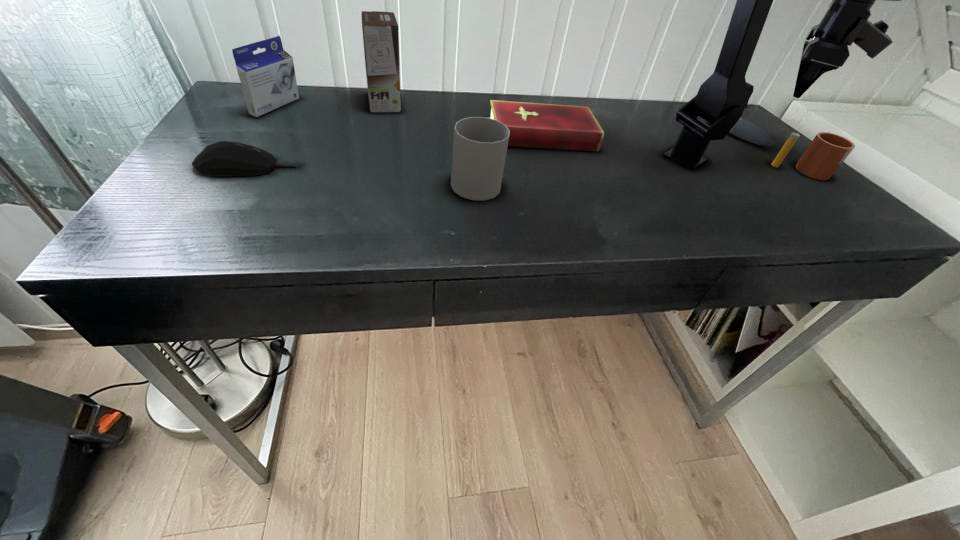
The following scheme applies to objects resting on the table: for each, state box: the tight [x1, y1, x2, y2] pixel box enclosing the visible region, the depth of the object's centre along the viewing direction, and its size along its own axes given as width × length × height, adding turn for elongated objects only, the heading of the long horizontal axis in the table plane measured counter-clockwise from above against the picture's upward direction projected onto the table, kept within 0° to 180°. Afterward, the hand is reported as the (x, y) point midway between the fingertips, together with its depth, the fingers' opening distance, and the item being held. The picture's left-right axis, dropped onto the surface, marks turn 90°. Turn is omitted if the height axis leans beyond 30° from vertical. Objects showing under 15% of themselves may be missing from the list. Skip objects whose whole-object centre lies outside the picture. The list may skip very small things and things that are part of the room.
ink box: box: [231, 35, 300, 118], centre depth 78 cm, size 12×2×12 cm, turn 155°
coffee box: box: [361, 10, 402, 113], centre depth 83 cm, size 9×6×16 cm
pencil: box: [770, 132, 801, 168], centre depth 84 cm, size 2×2×7 cm
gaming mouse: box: [191, 140, 297, 177], centre depth 66 cm, size 6×15×4 cm, turn 99°
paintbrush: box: [698, 116, 776, 148], centre depth 95 cm, size 20×5×5 cm, turn 48°
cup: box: [450, 116, 510, 201], centre depth 66 cm, size 8×8×10 cm
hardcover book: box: [487, 99, 605, 152], centre depth 84 cm, size 12×21×4 cm, turn 95°
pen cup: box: [794, 131, 856, 181], centre depth 84 cm, size 7×7×7 cm
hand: (797, 90), depth 82 cm, fingers open, 9 cm apart
